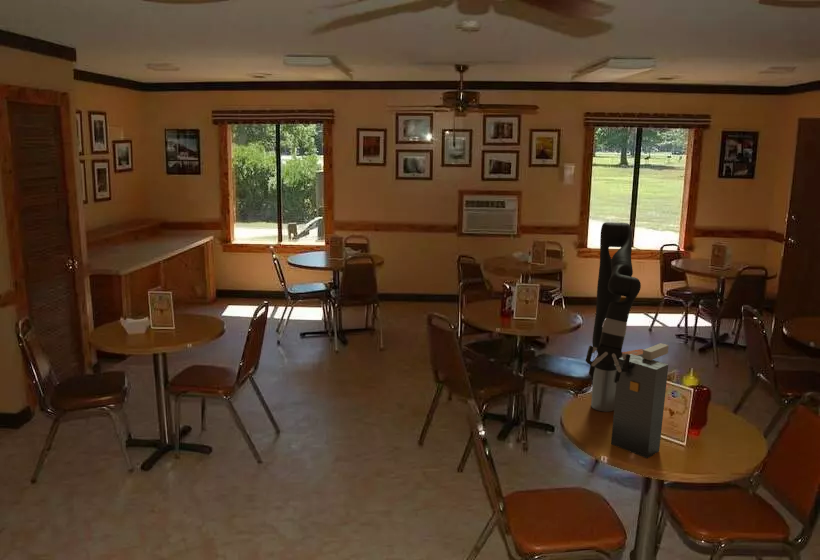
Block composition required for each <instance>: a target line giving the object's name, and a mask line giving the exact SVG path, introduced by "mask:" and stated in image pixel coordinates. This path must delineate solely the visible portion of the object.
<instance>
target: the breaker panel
mask: <svg viewBox="0 0 820 560" xmlns="http://www.w3.org/2000/svg"><path fill="white" fill-rule="evenodd" d="M629 355H630V360H629V365H628V369H627V371H626V372H621V374H620V378H619V381H617V383H616V394H615V405H614V410H613V417H612V427H611V428H612V429H611V441H610V444H611V445H613V446H616V447H618V448H621V449H623V450H625V451H627V452H630V453H633V454H636V455H638V456H640V457H643V458H645V459H649V458H651V457H652V456H654V455H656V454H657V453H659V452H660V448H661V447H660V446H661V439H662V427H663V420H664V419H663V418H664V411H665V409H664V408H665V399H666V392H667V391H666V390H667V380H668V371H669V364H668V363H665V362H661V361H657V360H655V359H653V360H651V361H650V360H647V359H643V358H642V357H640V356H637V355H633V354H629ZM618 363H619V365H620V368H623V363H624V359H623V357H621V358H619V360H618ZM655 453H656V454H655Z"/></svg>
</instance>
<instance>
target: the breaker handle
mask: <svg viewBox="0 0 820 560" xmlns="http://www.w3.org/2000/svg"><path fill="white" fill-rule="evenodd" d="M669 347H670V346H669V344H665V343H661V342H660V343H657V344H655V345H652V346H650V347H647V348H645V349H643V357H642V358H643V359H647V360H650V361H651V360H655V359H657V358H660V357H662V356H663V357H664V356H665V355H667V354H668V353H669Z"/></svg>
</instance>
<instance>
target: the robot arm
mask: <svg viewBox="0 0 820 560" xmlns="http://www.w3.org/2000/svg"><path fill="white" fill-rule="evenodd" d="M599 241H600V242H599V243H600V244H599V245H600V246H599V248H600V249H599V269H598V277H597V278H598V279H597V286H596V305H595V306H596V308H595V317H594V318H595V319H594V325H593V332H592V341H591V342H592V345H589V346H588V349H587V353H586V358H585V363H586V364H588V365H589V371H588V375H589V376H590V378H593V379H592V390H591V402H590V403H591V405H590V407H591V408H592V409H593V410H596V411H599V412H606V413H607V412H612V411H613V412H614V405H615V394H616V383H617V381H619V378H620V374H621V372H626V371H627V369H628V365H629V360H630V355H629V354H624V353H622V352H623V351H622V349H623V345H624V341H625V337H626V334H627V333H626V332H627V326H628V319H629V315H630V311H631V309H632V306H633V305H634V302H635V300H636V299H637V297H638V295H639V293H640V290H641V289H642V284H641V280H640V279H638V277H635V276H634V277H633V274H634V271H633V270H634V269H633V263H632V247H633V232H632V227H631V225H630V224H629V223H626V222H611V221H609V222H603V223H602V225H601V229H600V240H599ZM610 248H619V249H617V251H616V252H614V253H613V256H612V257H611V254H610V250H609V249H610ZM622 297H625V298H624V299H623V300H621V299H622ZM595 352H597V354H598V355H597V356H596V357H595V358H594V359H593V360H591V359H592V356H593V354H594V353H595ZM621 356H623V359H624V363H623V368H620V365H619V363H618V360H619V358H620V357H621Z"/></svg>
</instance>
